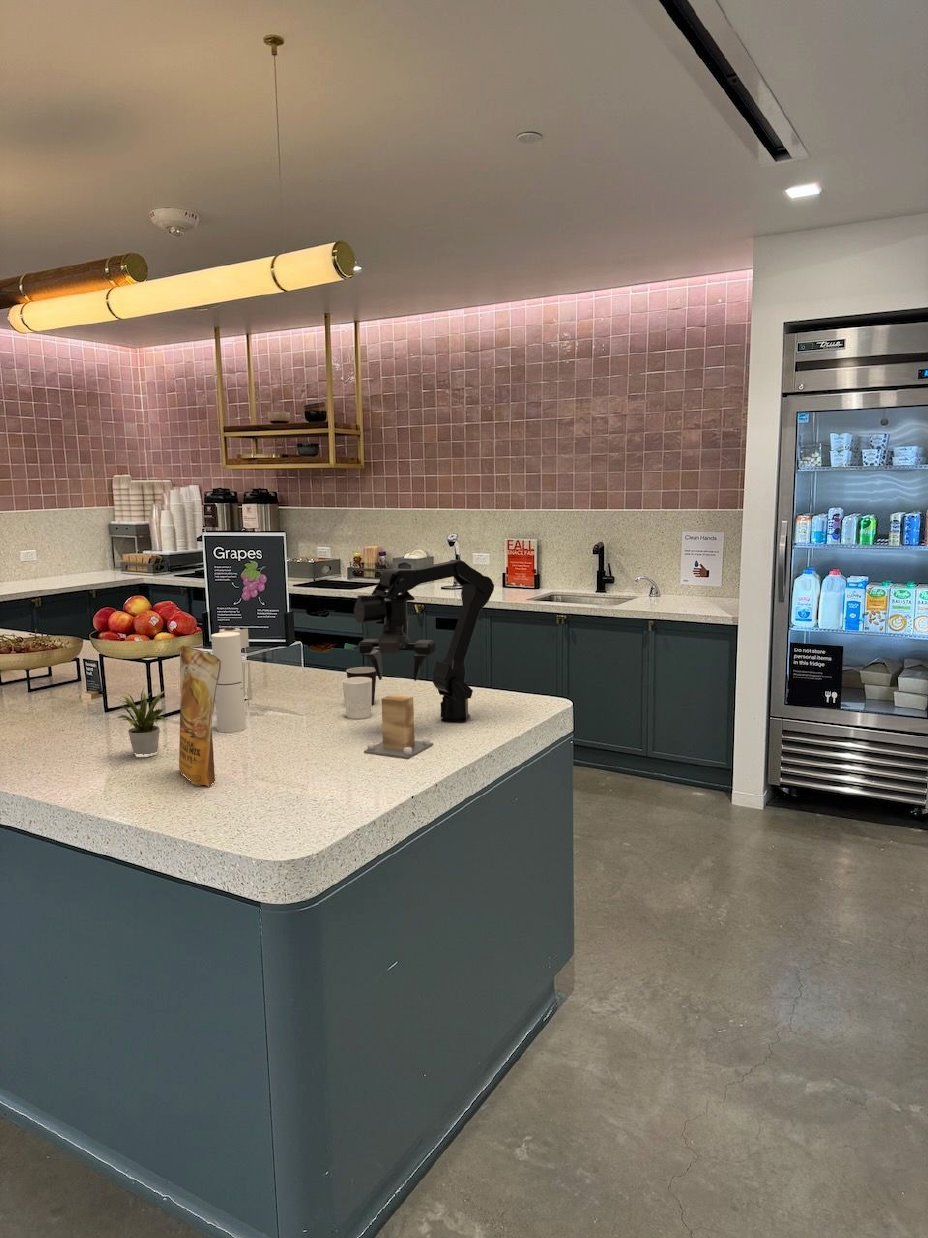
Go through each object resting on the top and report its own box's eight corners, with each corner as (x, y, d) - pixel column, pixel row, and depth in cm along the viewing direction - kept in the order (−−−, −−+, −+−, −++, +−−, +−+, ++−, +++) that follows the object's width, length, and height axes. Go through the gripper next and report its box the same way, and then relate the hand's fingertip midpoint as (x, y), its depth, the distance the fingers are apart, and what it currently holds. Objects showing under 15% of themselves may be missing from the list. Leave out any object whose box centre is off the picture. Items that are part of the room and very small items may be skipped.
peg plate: (390, 739, 222) (390, 731, 222) (433, 745, 217) (433, 736, 217) (363, 752, 212) (363, 744, 211) (408, 759, 206) (407, 750, 206)
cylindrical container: (211, 731, 234) (205, 635, 230) (230, 724, 240) (224, 631, 236) (232, 734, 230) (226, 637, 227) (251, 727, 237) (245, 633, 233)
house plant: (104, 767, 205) (98, 697, 202) (111, 750, 218) (105, 684, 216) (170, 761, 209) (165, 692, 206) (173, 745, 222) (168, 680, 219)
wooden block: (393, 742, 218) (391, 694, 216) (414, 745, 215) (413, 696, 213) (383, 748, 214) (381, 698, 212) (404, 750, 211) (403, 700, 209)
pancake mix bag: (201, 763, 207) (193, 642, 203) (231, 785, 191) (223, 655, 187) (171, 769, 203) (162, 646, 199) (199, 791, 187) (190, 659, 183)
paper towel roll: (219, 702, 264) (214, 630, 261) (230, 697, 270) (226, 627, 267) (241, 703, 262) (237, 631, 259) (252, 698, 268) (247, 627, 264)
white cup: (375, 712, 249) (374, 676, 247) (370, 719, 241) (368, 683, 240) (347, 712, 250) (346, 676, 248) (341, 719, 242) (339, 683, 240)
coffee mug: (372, 708, 253) (371, 673, 252) (343, 707, 255) (342, 673, 253) (384, 698, 264) (383, 665, 263) (356, 697, 266) (355, 664, 265)
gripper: (349, 623, 221) (352, 686, 223) (423, 624, 217) (425, 688, 219) (364, 617, 231) (366, 676, 234) (435, 617, 227) (436, 678, 230)
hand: (397, 680), depth 229 cm, fingers open, 9 cm apart
